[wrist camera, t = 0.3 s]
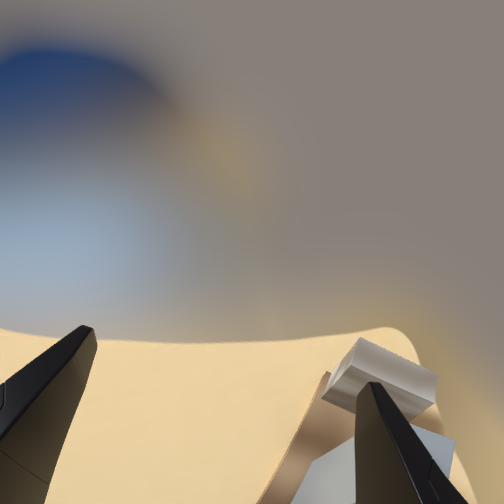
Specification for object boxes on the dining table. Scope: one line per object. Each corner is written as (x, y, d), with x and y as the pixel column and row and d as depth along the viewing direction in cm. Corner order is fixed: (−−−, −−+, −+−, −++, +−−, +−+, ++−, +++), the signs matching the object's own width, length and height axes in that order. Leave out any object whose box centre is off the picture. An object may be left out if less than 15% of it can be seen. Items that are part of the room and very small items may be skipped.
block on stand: (345, 559, 13) (396, 562, 9) (242, 525, 16) (265, 526, 11) (399, 410, 25) (442, 376, 21) (322, 376, 27) (354, 334, 23)
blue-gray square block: (357, 538, 14) (455, 525, 7) (284, 514, 16) (355, 502, 9) (384, 471, 19) (473, 424, 12) (319, 446, 20) (391, 390, 14)
